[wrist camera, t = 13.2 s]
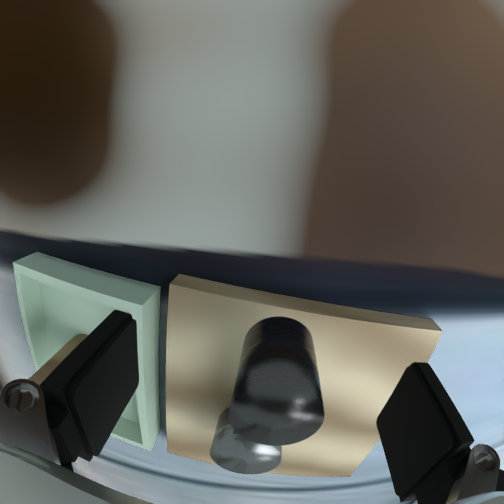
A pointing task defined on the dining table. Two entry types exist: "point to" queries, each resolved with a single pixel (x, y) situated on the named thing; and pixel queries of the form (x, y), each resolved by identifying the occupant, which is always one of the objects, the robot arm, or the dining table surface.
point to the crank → (270, 398)
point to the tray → (93, 326)
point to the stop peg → (56, 359)
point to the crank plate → (328, 362)
